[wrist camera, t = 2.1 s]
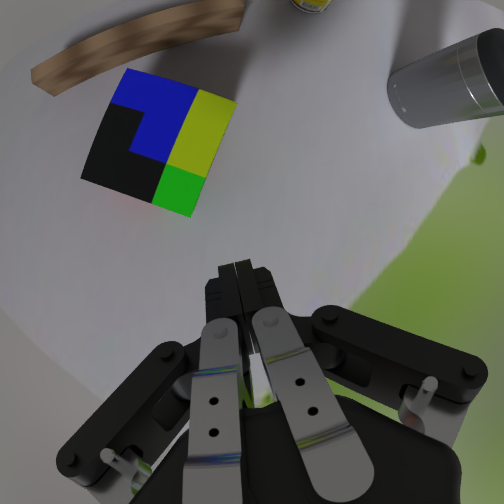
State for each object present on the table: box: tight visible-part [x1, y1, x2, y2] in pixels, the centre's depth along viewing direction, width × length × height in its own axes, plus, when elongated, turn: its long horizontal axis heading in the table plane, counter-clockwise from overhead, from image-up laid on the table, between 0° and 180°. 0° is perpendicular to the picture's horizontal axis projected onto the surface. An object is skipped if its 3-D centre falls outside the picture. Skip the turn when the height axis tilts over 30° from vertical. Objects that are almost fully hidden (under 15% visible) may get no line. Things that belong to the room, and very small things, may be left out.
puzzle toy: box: [81, 68, 237, 217], centre depth 26 cm, size 10×10×10 cm
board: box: [31, 0, 245, 96], centre depth 25 cm, size 24×2×6 cm, turn 107°
